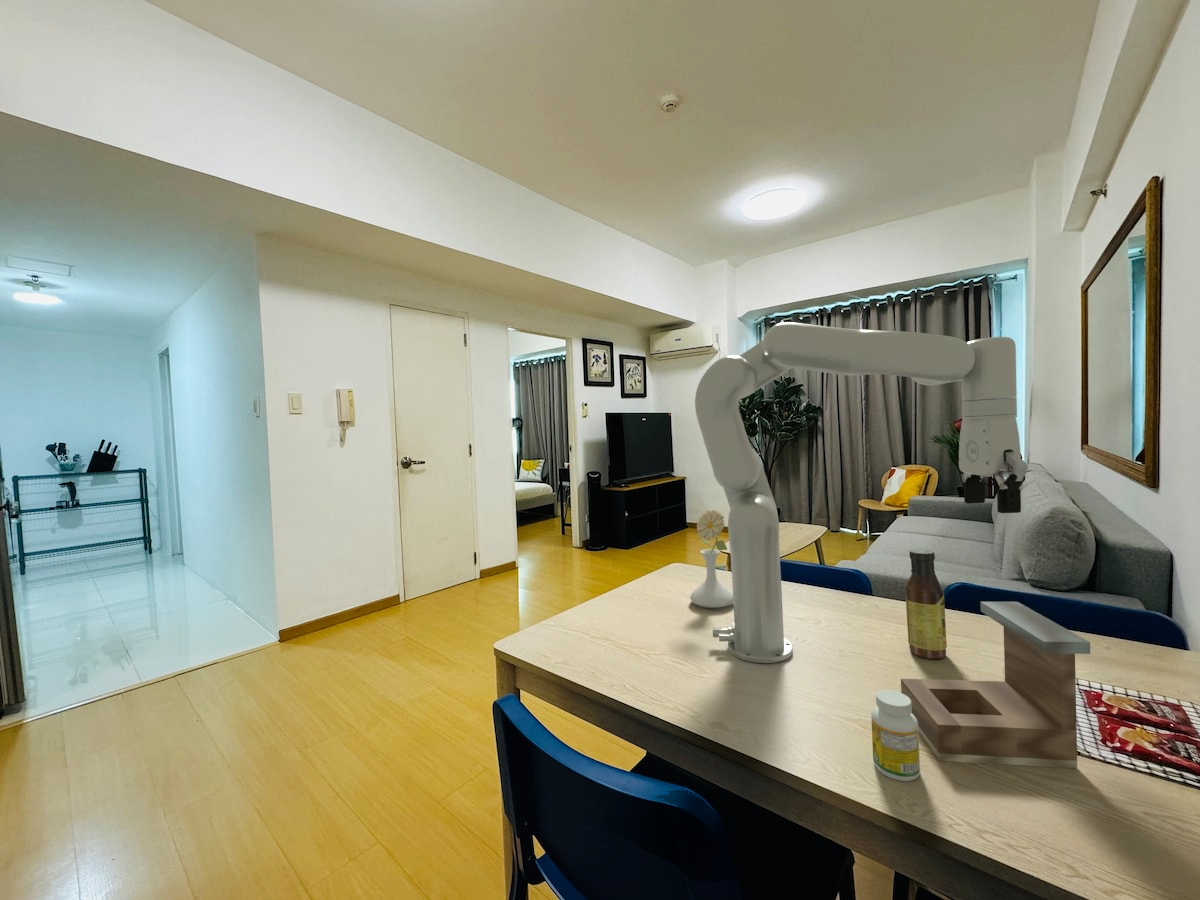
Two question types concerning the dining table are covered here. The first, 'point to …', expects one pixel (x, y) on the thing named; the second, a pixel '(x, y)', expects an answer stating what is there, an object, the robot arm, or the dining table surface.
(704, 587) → the flower in vase
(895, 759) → the supplement bottle
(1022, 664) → the socket block
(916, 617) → the sauce bottle
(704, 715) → the dining table surface
